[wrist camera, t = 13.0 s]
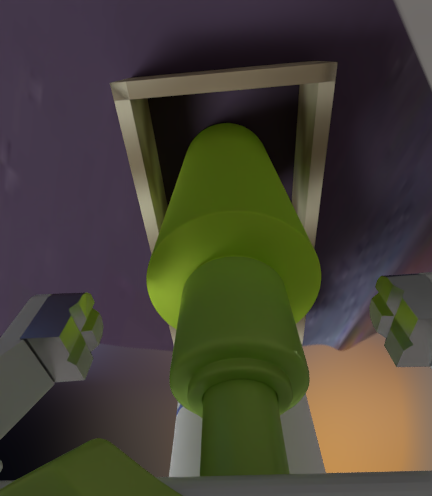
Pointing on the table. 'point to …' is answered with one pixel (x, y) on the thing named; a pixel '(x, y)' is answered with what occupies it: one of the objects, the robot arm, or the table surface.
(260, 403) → the soap dispenser
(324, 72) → the frame
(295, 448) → the cylindrical container
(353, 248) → the table surface
